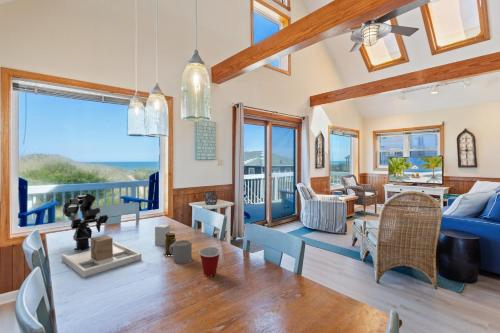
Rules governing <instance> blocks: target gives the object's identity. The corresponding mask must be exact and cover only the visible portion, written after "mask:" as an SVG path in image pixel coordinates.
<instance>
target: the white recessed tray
mask: <svg viewBox="0 0 500 333" xmlns="http://www.w3.org/2000/svg"><path fill="white" fill-rule="evenodd" d="M141 260H142V253H140V252H139V251H137V250H135V249H131V248H130V247H127V246H125V245H124V244H121V243H119V242H116V241H113V257H111V258H108V259H104V260H101V261H96V260H94V259H93V258H91V250H88V251H83V252H79V253H75V254H70V255H67V254H66V253H62V254H61V261H62V262H63V263H64V264H66V265H67V266H68V267H69V268H70V269H72V270H74V271H75V272H76V273H77V274H79V275H80V276H81V277H82V278H88V277H91V276H94V275H98V274H100V273H103V272H107V271H110V270H113V269H116V268H119V267H123V266H125V265H130V264H133V263H135V262H138V261H141Z"/></svg>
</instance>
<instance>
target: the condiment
mask: <svg viewBox="0 0 500 333" xmlns="http://www.w3.org/2000/svg"><path fill="white" fill-rule="evenodd" d="M176 241H177V238H176V234H175V233H173V232H170V233H168V234H166V239H165V246H164V249H165V250H164V251H163V255H164V257H165V258H169V257H170V256H171V255H172V254H171V253H170V246H171V245H172V244H174V242H176ZM172 250H173V247H172ZM166 255H167V256H166ZM168 255H170V256H168ZM171 257H172V256H171ZM171 257H170V258H171Z"/></svg>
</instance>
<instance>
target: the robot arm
mask: <svg viewBox="0 0 500 333" xmlns="http://www.w3.org/2000/svg"><path fill="white" fill-rule="evenodd" d="M95 200H96V196H94V195H93V194H91V193H90V192H89V193H86V194H85V195H76V196H75V198H68V199H67V202H66V203H65V204H64V205H63V209H62V213H63V215H64V216H65V217H66V218H70V221H71V223H70V229H72V230H74V229H75V231H74V233H73V236H72V237H73V241H75V243H76V244H75V245H76V247H75V248H74V250H75V251H84V250H87V249H89V248H90V249H91V245H90V242H89V239H91V238H92V233H93V230H92V228H91V227H90V225H89V224H93V223H96V224H95V227H96V229H97V230H96V231H97V232H98V233H100V231H101V225H102V224H106V223H107V221H108V219H109V216H108V214H102V215H99V217H98V218H97V215H98V214H101V209H100V207H96V208H92V207H93V205H94V204H95ZM79 211H80V212H81V216H79Z"/></svg>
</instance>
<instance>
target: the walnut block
mask: <svg viewBox="0 0 500 333" xmlns="http://www.w3.org/2000/svg"><path fill="white" fill-rule="evenodd" d="M113 242H114V241H113V237H111V236H109V235H107V234H105V235H100V236H99V235H98V236H94V237H91V238H90V246H91V247H90V251H91V258H93V259H94V260H96V261H101V260H104V259H108V258H111V257H113Z"/></svg>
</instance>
